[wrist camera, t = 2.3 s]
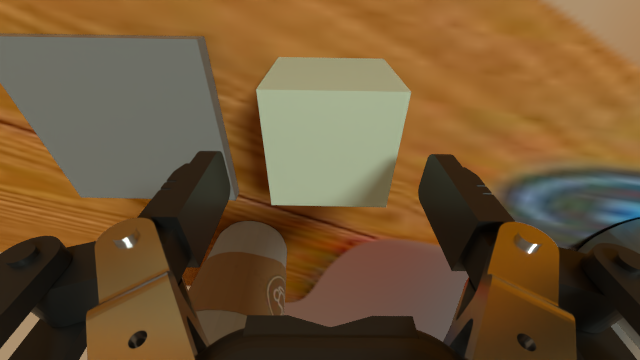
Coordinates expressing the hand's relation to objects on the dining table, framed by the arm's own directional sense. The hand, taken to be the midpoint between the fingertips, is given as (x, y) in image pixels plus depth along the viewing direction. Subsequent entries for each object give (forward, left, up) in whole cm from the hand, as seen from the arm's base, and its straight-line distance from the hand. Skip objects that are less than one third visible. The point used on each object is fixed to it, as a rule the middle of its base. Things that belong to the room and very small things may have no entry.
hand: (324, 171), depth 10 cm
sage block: (0, 0, -8) cm, 8 cm away
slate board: (+13, +2, -8) cm, 15 cm away
